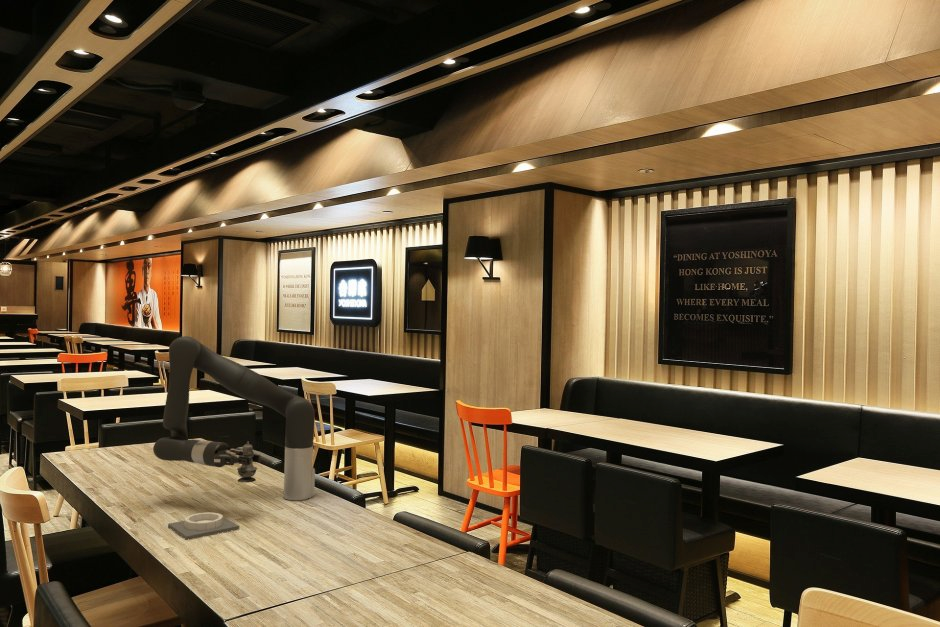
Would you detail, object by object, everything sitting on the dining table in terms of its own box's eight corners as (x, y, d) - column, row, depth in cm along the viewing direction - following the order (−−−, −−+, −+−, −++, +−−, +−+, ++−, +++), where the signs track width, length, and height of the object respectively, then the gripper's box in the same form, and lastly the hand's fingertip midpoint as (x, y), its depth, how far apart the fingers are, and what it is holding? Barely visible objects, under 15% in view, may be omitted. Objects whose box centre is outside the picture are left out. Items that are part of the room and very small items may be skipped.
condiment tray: (219, 517, 206) (219, 507, 206) (239, 529, 196) (239, 518, 196) (168, 527, 196) (168, 516, 196) (186, 540, 186) (186, 529, 185)
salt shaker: (250, 483, 204) (251, 443, 204) (232, 481, 205) (234, 442, 205) (260, 478, 210) (261, 440, 210) (243, 477, 211) (244, 438, 211)
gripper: (194, 445, 206) (239, 452, 200) (227, 437, 219) (270, 443, 213) (193, 470, 206) (238, 477, 200) (226, 461, 219) (269, 467, 213)
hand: (254, 460), depth 206 cm, fingers closed on salt shaker, 3 cm apart
